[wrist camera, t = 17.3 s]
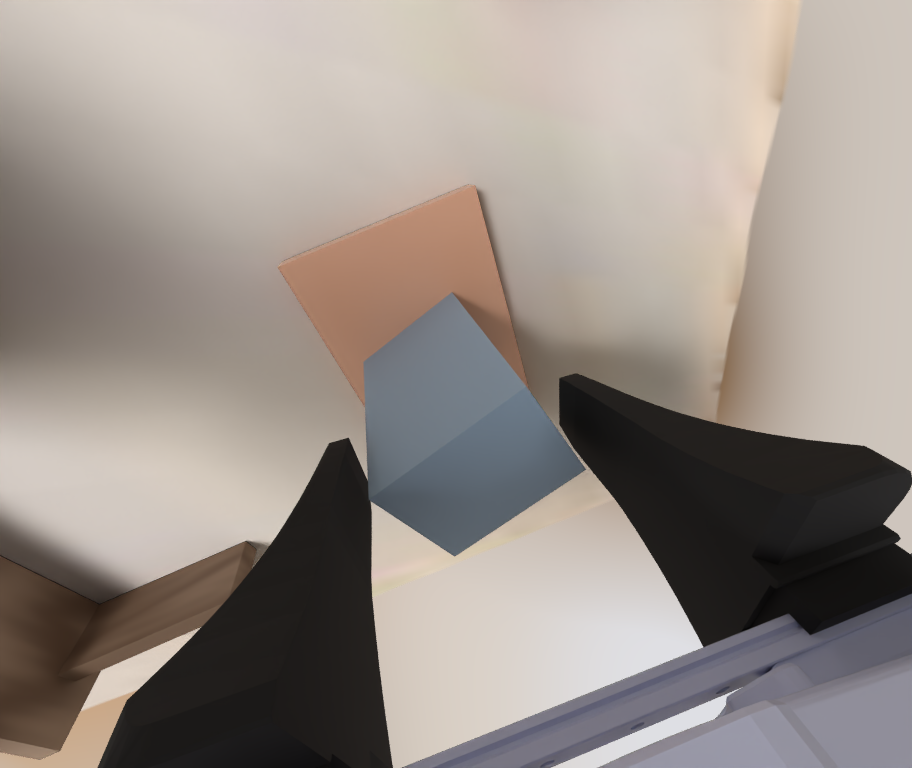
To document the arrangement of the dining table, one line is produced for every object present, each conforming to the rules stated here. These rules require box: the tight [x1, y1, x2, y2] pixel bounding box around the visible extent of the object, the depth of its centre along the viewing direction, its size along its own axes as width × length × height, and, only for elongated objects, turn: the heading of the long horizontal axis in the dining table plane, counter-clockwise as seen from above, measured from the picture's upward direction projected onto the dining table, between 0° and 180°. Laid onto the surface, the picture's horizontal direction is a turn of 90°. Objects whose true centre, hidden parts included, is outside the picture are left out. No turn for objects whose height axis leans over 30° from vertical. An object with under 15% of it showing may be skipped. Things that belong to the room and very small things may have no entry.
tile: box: [278, 185, 529, 407], centre depth 17 cm, size 12×8×1 cm, turn 19°
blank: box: [363, 293, 586, 556], centre depth 13 cm, size 4×5×8 cm
